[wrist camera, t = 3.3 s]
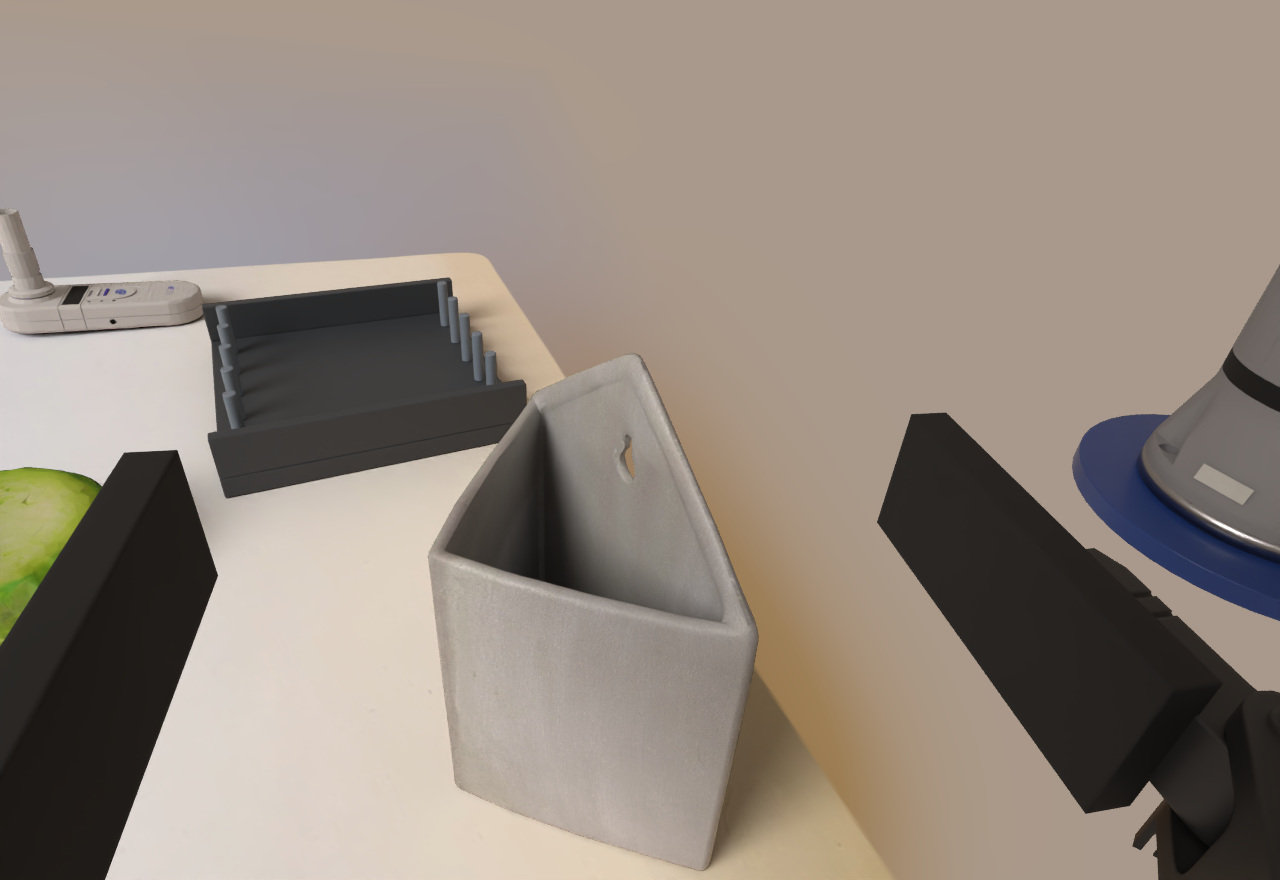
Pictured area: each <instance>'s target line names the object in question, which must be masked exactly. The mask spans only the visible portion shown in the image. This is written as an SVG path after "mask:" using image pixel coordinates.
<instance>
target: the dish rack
mask: <svg viewBox="0 0 1280 880" xmlns="http://www.w3.org/2000/svg"><path fill="white" fill-rule="evenodd" d="M202 310H203V314H204V317H205V321H206V325H207V328H208V332H209V335H210V339H211V343H212V359H213V375H214V391H215V407H216V423H217V432H212V433H208V442H209V445H210V449H211V452H212V455H213V458H214V462H215V465H216V468H217V472H218V475H219V478H220V481H221V485H222V488H223V491H224V495H225V497H226V498H229V497H234V496H239V495H244V494H249V493H254V492H258V491H263V490H268V489H273V488H278V487H283V486H288V485H293V484H298V483H303V482H308V481H312V480H317V479H322V478H327V477H332V476H337V475H342V474H347V473H352V472H357V471H361V470H366V469H371V468H376V467H381V466H386V465H391V464H396V463H401V462H406V461H410V460H415V459H420V458H425V457H430V456H435V455H440V454H445V453H450V452H455V451H459V450H464V449H469V448H474V447H479V446H484V445H489V444H494V443H499V442H500V441H501V439H502V438H503V437H504V435H505V434H506V433H507V431H508V430H509V429H510V427H511V426H512V425H513V423H514V422H515V421H516V420H517V418H518V417H519V415H520V414H521V413H522V411H523V410H524V408H525V407H526V405H527V399H526V383H525V382H524V381H523V380H516V381H510V382H505V383H502V382H501V381H500V379H499V378H498V376H497V362H496V352H494V351H487V352H486V353H485V357H484V356H483V340H482V333H481V332H479V331H474V332H472V334H470V318H469V314H468V313H461V314H459V312H458V299H457V297H453V292H452V280H451V279H450V278H440V279H430V280H421V281H412V282H403V283H394V284H384V285H375V286H366V287H357V288H347V289H338V290H329V291H320V292H311V293H301V294H292V295H283V296H274V297H264V298H255V299H246V300H237V301H228V302H218V303H209V304H202ZM471 336H472V338H471Z"/></svg>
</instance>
